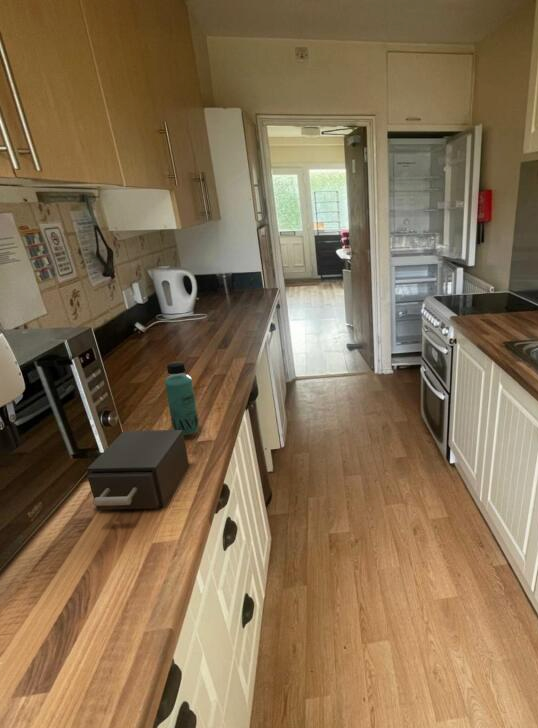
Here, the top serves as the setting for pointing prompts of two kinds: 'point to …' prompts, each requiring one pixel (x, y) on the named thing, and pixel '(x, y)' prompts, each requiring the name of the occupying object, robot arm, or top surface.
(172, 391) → the beverage bottle
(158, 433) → the drawer cabinet
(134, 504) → the drawer
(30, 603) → the top surface
